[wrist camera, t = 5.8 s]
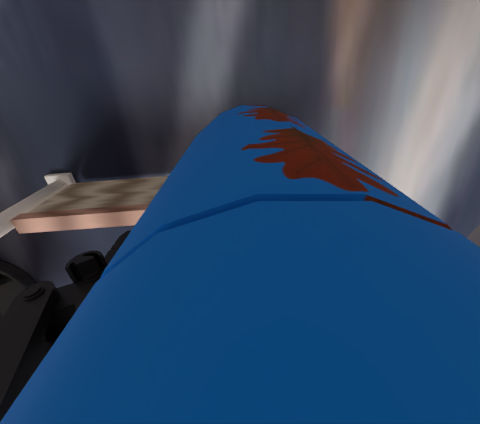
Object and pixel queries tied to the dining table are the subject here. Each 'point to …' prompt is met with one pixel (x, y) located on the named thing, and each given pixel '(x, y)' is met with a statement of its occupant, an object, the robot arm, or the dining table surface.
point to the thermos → (271, 298)
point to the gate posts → (35, 199)
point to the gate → (92, 206)
